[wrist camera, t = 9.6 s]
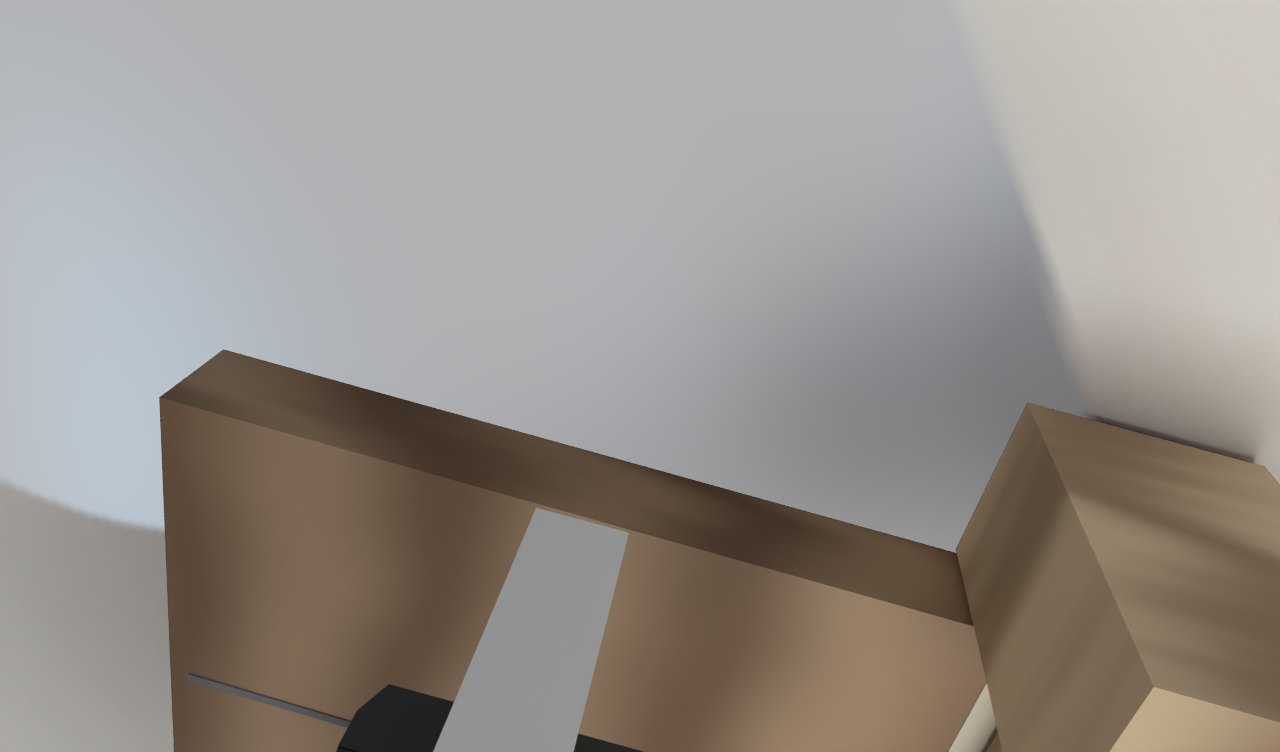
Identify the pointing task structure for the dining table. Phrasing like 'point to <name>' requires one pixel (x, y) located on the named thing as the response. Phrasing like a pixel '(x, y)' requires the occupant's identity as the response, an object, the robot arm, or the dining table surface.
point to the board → (480, 562)
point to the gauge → (1125, 593)
